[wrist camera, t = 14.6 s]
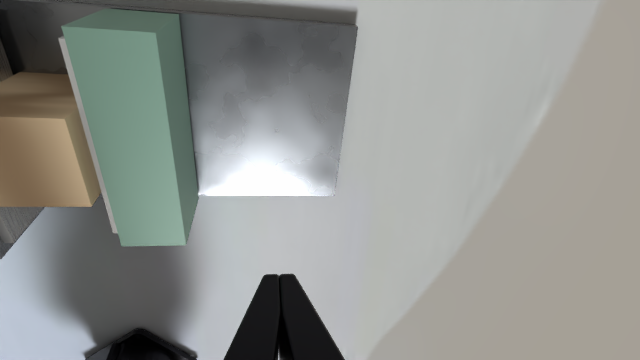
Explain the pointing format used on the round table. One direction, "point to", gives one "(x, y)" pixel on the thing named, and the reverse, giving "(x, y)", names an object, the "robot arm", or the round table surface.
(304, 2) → the round table surface
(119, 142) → the block
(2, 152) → the tan wooden block
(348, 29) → the grey angle bracket
